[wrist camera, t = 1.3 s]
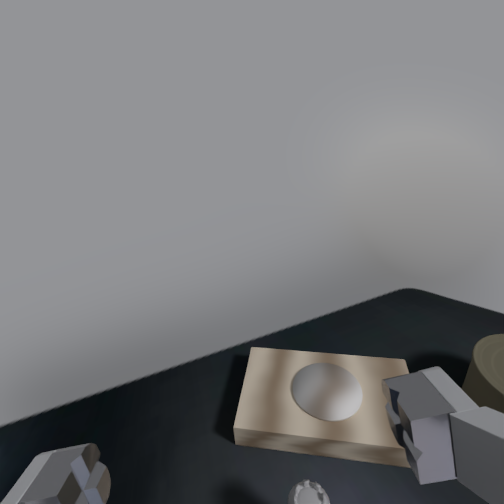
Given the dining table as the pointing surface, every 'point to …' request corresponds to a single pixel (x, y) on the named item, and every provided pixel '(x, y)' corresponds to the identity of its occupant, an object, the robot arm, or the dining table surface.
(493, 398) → the can
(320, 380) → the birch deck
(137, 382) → the dining table surface
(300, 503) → the rook chess piece
